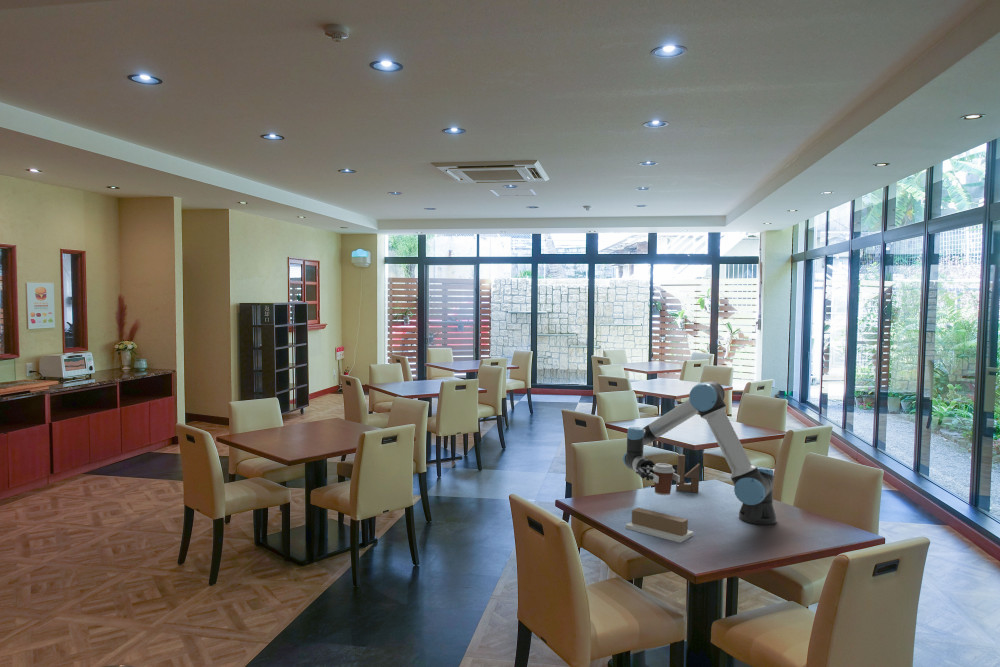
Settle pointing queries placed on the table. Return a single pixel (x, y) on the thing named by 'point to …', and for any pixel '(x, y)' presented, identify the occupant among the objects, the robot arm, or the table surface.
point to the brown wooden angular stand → (687, 476)
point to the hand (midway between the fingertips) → (668, 479)
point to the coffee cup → (663, 478)
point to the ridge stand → (659, 525)
